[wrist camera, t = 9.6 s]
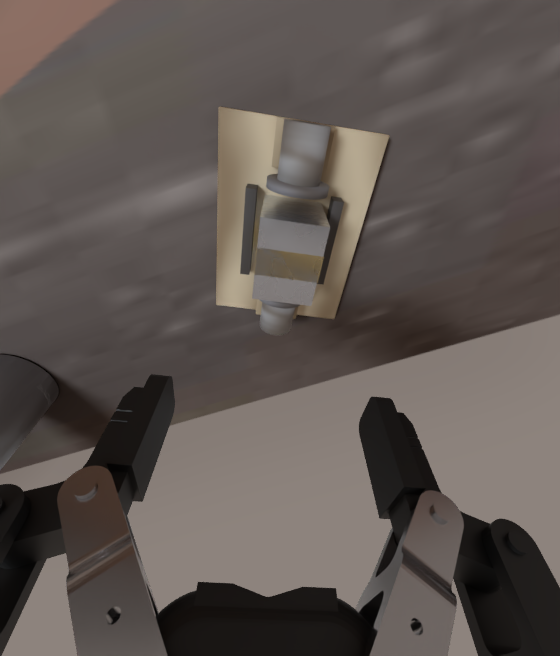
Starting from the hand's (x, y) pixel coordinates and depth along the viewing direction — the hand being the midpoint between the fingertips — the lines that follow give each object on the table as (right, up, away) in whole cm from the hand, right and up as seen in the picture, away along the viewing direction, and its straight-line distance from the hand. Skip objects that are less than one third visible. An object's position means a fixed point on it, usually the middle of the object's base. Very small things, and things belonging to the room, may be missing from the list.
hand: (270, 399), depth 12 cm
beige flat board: (+1, +12, +14) cm, 18 cm away
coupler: (+1, +11, +13) cm, 17 cm away
